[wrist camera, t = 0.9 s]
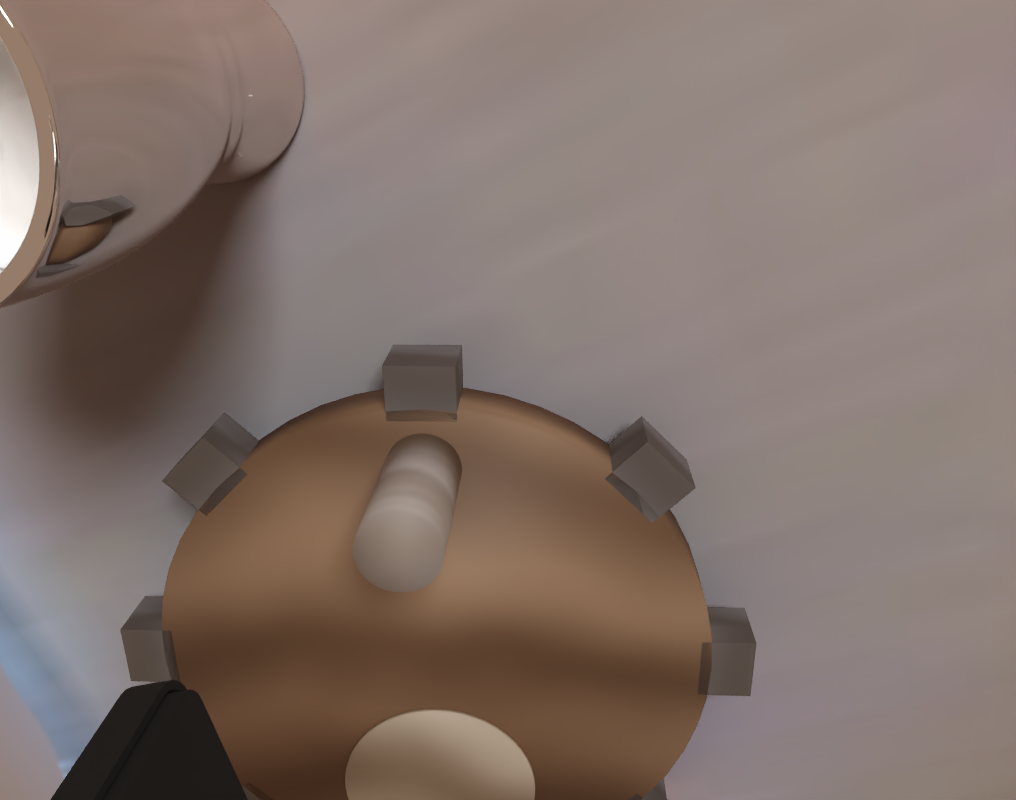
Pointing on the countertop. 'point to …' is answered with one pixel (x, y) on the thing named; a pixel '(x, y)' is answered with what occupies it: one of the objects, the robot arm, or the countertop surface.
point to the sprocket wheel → (439, 600)
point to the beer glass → (129, 123)
